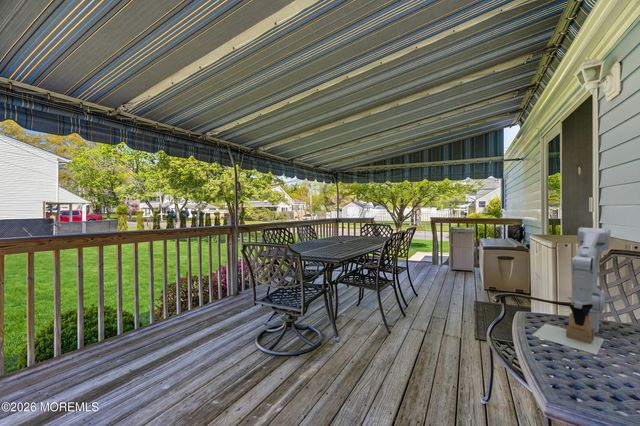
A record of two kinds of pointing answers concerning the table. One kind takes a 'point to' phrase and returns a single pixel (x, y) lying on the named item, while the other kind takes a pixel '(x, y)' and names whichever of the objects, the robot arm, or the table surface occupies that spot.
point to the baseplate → (567, 339)
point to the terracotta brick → (586, 326)
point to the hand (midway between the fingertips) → (580, 323)
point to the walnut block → (580, 334)
